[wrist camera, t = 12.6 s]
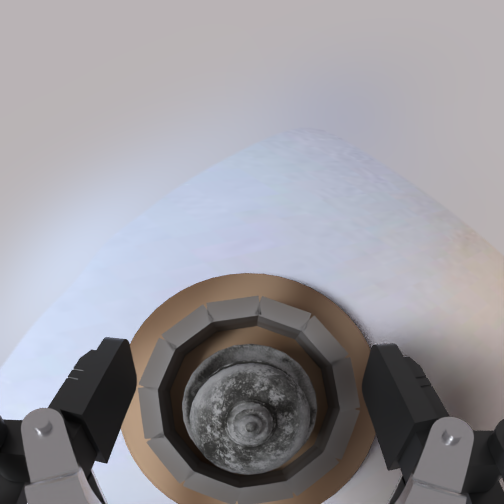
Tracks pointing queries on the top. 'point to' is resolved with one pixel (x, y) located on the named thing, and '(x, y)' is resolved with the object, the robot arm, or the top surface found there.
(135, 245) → the top surface
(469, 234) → the top surface
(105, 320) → the top surface
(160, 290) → the top surface
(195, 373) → the grey tall piece
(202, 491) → the socket stand
